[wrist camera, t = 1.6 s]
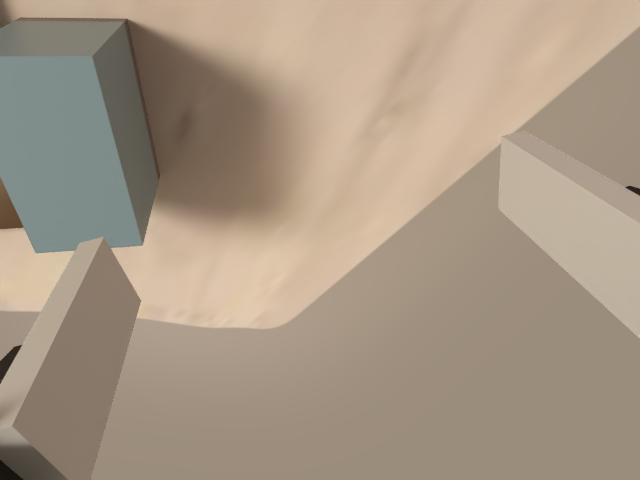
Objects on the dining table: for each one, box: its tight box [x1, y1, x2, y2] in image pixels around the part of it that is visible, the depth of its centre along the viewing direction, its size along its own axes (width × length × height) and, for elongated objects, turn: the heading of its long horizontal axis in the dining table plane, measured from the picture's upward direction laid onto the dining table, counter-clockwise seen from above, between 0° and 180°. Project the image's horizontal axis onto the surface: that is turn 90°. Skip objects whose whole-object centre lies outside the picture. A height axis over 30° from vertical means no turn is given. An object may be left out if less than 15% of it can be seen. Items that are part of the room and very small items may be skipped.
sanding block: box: [0, 18, 160, 253], centre depth 26 cm, size 11×6×9 cm, turn 178°
